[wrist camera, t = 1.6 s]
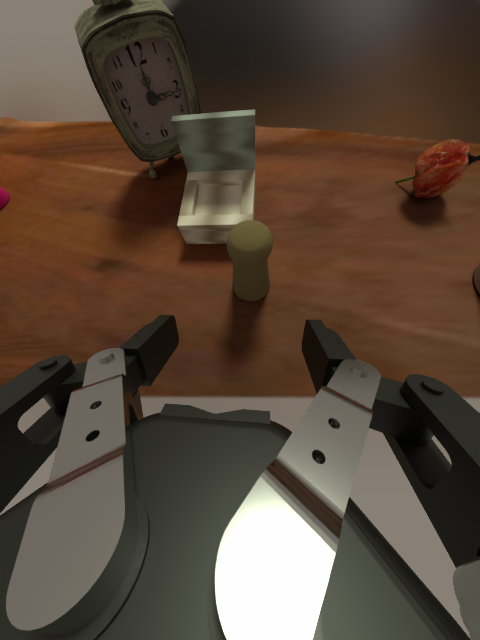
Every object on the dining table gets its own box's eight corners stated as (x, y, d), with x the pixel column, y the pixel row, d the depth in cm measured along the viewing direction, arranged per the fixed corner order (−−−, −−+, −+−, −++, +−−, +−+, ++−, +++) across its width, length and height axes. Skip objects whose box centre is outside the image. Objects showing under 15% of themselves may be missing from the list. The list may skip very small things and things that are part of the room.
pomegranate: (384, 210, 34) (463, 200, 26) (386, 164, 30) (481, 135, 22) (404, 193, 36) (484, 178, 28) (409, 147, 32) (503, 115, 24)
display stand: (255, 188, 36) (255, 109, 25) (252, 243, 32) (251, 177, 21) (195, 190, 37) (172, 116, 26) (186, 244, 33) (154, 181, 22)
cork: (241, 307, 28) (233, 266, 18) (227, 276, 30) (212, 223, 20) (276, 291, 29) (288, 242, 18) (259, 262, 30) (262, 202, 20)
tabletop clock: (148, 187, 38) (-27, -127, 14) (139, 161, 41) (-22, -137, 17) (211, 162, 39) (144, -175, 15) (198, 139, 42) (122, -177, 18)
